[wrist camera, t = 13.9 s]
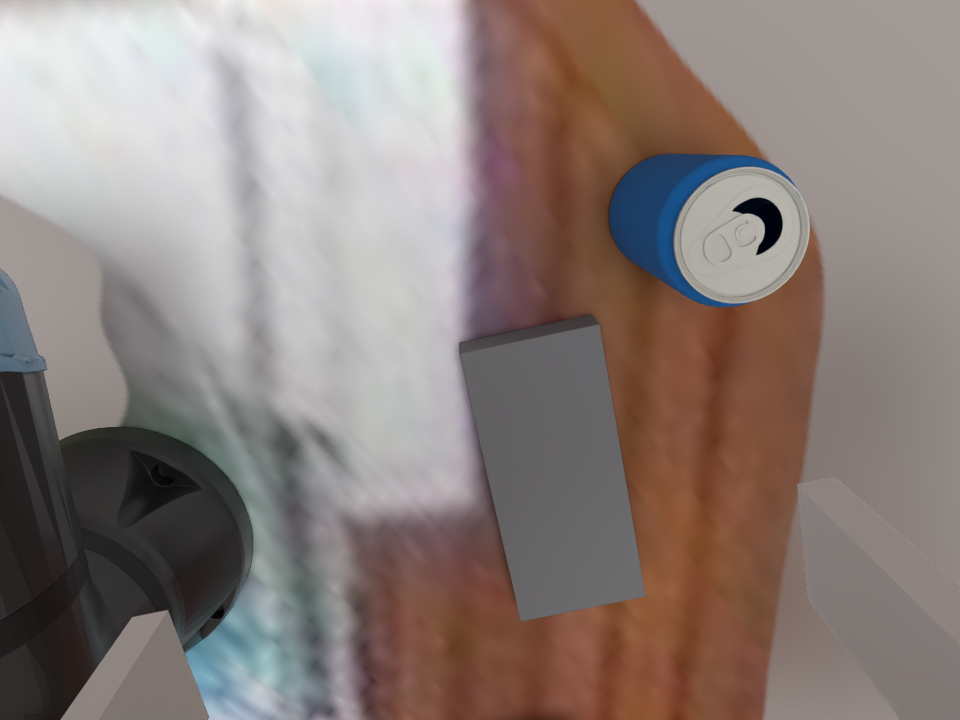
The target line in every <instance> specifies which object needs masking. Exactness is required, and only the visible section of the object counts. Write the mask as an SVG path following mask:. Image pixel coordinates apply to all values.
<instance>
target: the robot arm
mask: <svg viewBox="0 0 960 720" xmlns="http://www.w3.org/2000/svg"><path fill="white" fill-rule="evenodd" d="M45 370H47V367H46V362H45V360H44V358H43V357H42V356H40V355H38V353H37V349H36V346H35V343H34V340H33V337H32V334H31V331H30V328H29V325H28V322H27V318H26V315H25V312H24V308H23V305H22V301H21V298H20V295H19V292H18V290H17V288H16V286H15V284H14V282H13V281H12V279H11V278H10V277H9V276H8V275H7V274H6V273H5V272H4V271H3V270H2V269H1V268H0V720H208V718H209V715H208V713H207V710H206V708H205V705H204V703H203V700H202V697H201V695H200V692H199V690H198V687H197V684H196V682H195V679H194V677H193V674H192V671H191V669H190V666H189V664H188V661H187V658H186V656H185V653H186V652H188V651H189V650H190V649H192V648H193V647H194V646H195V645H197V644H198V643H199V642H200V641H202V640H203V639H204V638H205V637H207V636H208V635H209V634H210V633H211V632H212V631H213V630H215V629H216V628H217V627H218V625H219V624H220V623H221V622H222V621H223V620H224V618H225V617H226V616H227V614H228V613H229V612H230V610H231V608H232V607H233V605H234V603H235V601H236V599H237V597H238V595H239V593H240V591H241V589H242V587H243V585H244V583H245V581H246V578H247V576H248V573H249V570H250V566H251V561H252V554H253V537H252V530H251V525H250V521H249V517H248V514H247V511H246V509H245V506H244V504H243V502H242V500H241V498H240V496H239V495H238V493H237V491H236V490H235V488H234V487H233V485H232V484H231V482H230V481H229V480H228V479H227V477H226V476H225V475H224V474H223V473H222V472H221V471H220V470H219V469H218V468H217V467H216V466H215V465H214V464H213V463H212V462H211V461H209V460H208V459H207V458H206V457H204V456H203V455H202V454H200V453H199V452H197V451H196V450H194V449H193V448H191V447H189V446H187V445H186V444H184V443H182V442H180V441H178V440H175V439H173V438H171V437H168V436H165V435H162V434H159V433H156V432H152V431H148V430H143V429H137V428H128V427H107V428H97V429H92V430H87V431H83V432H79V433H76V434H73V435H71V436H68V437H66V438H64V439H62V440H60V441H59V439H58V435H57V430H56V426H55V421H54V417H53V413H52V408H51V404H50V399H49V395H48V390H47V386H46V381H45V377H44V373H43V371H45ZM797 487H798V498H799V509H800V520H801V531H802V542H803V553H804V565H805V575H806V586H807V598H808V601H809V603H810V604H811V605H812V606H813V608H814V609H815V610H816V612H817V613H818V614H819V616H820V617H821V618H822V619H823V621H824V622H825V623H826V624H827V626H828V627H829V628H830V630H831V631H832V632H833V633H834V635H835V636H836V637H837V639H838V640H839V641H840V643H841V644H842V645H843V646H844V648H845V649H846V650H847V652H848V653H849V654H850V655H851V657H852V658H853V659H854V661H855V662H856V663H857V665H858V666H859V667H860V668H861V670H862V671H863V672H864V674H865V675H866V676H867V677H868V679H869V680H870V681H871V683H872V684H873V685H874V686H875V688H876V689H877V690H878V692H879V693H880V694H881V695H882V697H883V698H884V699H885V701H886V702H887V703H888V705H889V706H890V707H891V708H892V710H893V711H894V712H895V713H896V715H897V716H898V717H899V719H900V720H960V585H959V584H958V583H956V582H955V581H954V580H953V579H952V578H951V577H950V576H948V575H947V574H946V573H945V572H944V571H943V570H941V569H940V568H939V567H938V566H937V565H936V564H935V563H933V562H932V561H931V560H930V559H929V558H927V556H925V555H924V554H923V553H922V552H921V551H920V550H918V549H917V548H916V547H915V546H914V545H913V544H912V543H910V542H909V541H908V540H907V539H906V538H905V537H903V536H902V535H901V534H900V533H899V532H898V531H897V530H895V529H894V528H893V527H892V526H891V525H890V524H888V523H887V522H886V521H885V520H884V519H883V518H882V517H880V516H879V515H878V514H877V513H876V512H875V511H873V510H872V509H871V508H870V507H869V506H868V505H867V504H866V503H864V502H863V501H862V500H861V499H860V498H859V497H857V496H856V495H855V494H854V493H853V492H852V491H851V490H849V489H848V488H847V487H846V486H845V485H844V484H842V483H841V482H840V481H839V480H838V479H837V478H835V477H833V478H828V479H824V480H818V481H813V482H808V483H803V484H798V485H797Z"/></svg>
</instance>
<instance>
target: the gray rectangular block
mask: <svg viewBox="0 0 960 720" xmlns="http://www.w3.org/2000/svg"><path fill="white" fill-rule="evenodd" d="M459 349H460V358H461V363H462V367H463V371H464V376H465V380H466V384H467V389H468V393H469V397H470V402H471V406H472V410H473V415H474V419H475V424H476V428H477V432H478V437H479V441H480V445H481V450H482V454H483V458H484V463H485V467H486V471H487V476H488V480H489V485H490V489H491V493H492V498H493V502H494V506H495V511H496V515H497V519H498V524H499V528H500V532H501V537H502V541H503V545H504V550H505V554H506V559H507V563H508V567H509V572H510V576H511V580H512V585H513V589H514V593H515V598H516V602H517V606H518V611H519V615H520V620H521V621H526V620H531V619H536V618H541V617H546V616H551V615H556V614H561V613H566V612H571V611H576V610H581V609H586V608H591V607H596V606H600V605H605V604H610V603H615V602H620V601H625V600H630V599H635V598H640V597H645V591H644V585H643V579H642V573H641V567H640V561H639V555H638V549H637V544H636V538H635V532H634V526H633V520H632V514H631V508H630V502H629V497H628V491H627V485H626V479H625V473H624V467H623V461H622V455H621V449H620V444H619V438H618V432H617V426H616V420H615V414H614V408H613V402H612V396H611V391H610V385H609V379H608V373H607V367H606V361H605V355H604V349H603V343H602V338H601V332H600V326H599V323H598V322H597V321H596V320H595V318H594V317H593V316H592V315H587V316H582V317H577V318H573V319H568V320H563V321H559V322H554V323H549V324H545V325H540V326H535V327H531V328H526V329H521V330H517V331H512V332H507V333H502V334H498V335H493V336H488V337H484V338H479V339H474V340H470V341H465V342H460V343H459Z"/></svg>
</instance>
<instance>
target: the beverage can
mask: <svg viewBox="0 0 960 720" xmlns="http://www.w3.org/2000/svg"><path fill="white" fill-rule="evenodd" d="M609 220H610V228H611V233H612V235H613V238H614V241H615V243H616V245H617V246H618V248H619V249H620V251H621V252H622V253H623V254H624V255H625V256H626V257H627V258H628V259H629V260H630V261H632V262H633V263H635V264H636V265H638V266H639V267H641V268H643V269H644V270H646V271H647V272H649V273H650V274H652V275H653V276H655V277H657V278H658V279H660V280H661V281H663V282H664V283H666V284H667V285H669V286H671V287H672V288H674V289H675V290H677V291H678V292H680V293H681V294H683V295H685V296H686V297H688V298H689V299H691V300H693V301H696V302H698V303H701V304H704V305H708V306H714V307H732V306H739V305H743V304H747V303H750V302H752V301H755V300H758V299H760V298H763V297H765V296H767V295H769V294H771V293H772V292H774V291H775V290H777V289H778V288H780V287H781V286H782V285H783V284H784V283H785V282H787V280H788V279H789V278H790V277H791V276H792V275H793V274H794V272H795V271H796V269H797V268H798V266H799V265H800V263H801V261H802V259H803V257H804V254H805V252H806V249H807V245H808V241H809V234H810V222H809V214H808V211H807V207H806V204H805V202H804V200H803V198H802V196H801V194H800V193H799V191H798V190H797V188H796V187H795V185H794V184H793V182H792V181H791V180H790V178H789V177H788V176H787V175H786V174H785V173H784V172H782V171H781V170H780V169H779V168H777V167H776V166H774V165H773V164H771V163H769V162H767V161H765V160H762V159H759V158H756V157H751V156H745V155H700V154H663V155H658V156H654V157H651V158H649V159H646V160H644V161H642V162H641V163H639V164H637V165H636V166H635V167H633V168H632V169H631V170H630V171H629V172H628V173H627V174H626V175H625V176H624V177H623V179H622V180H621V181H620V183H619V185H618V186H617V188H616V190H615V192H614V195H613V198H612V201H611V206H610V214H609Z"/></svg>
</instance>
